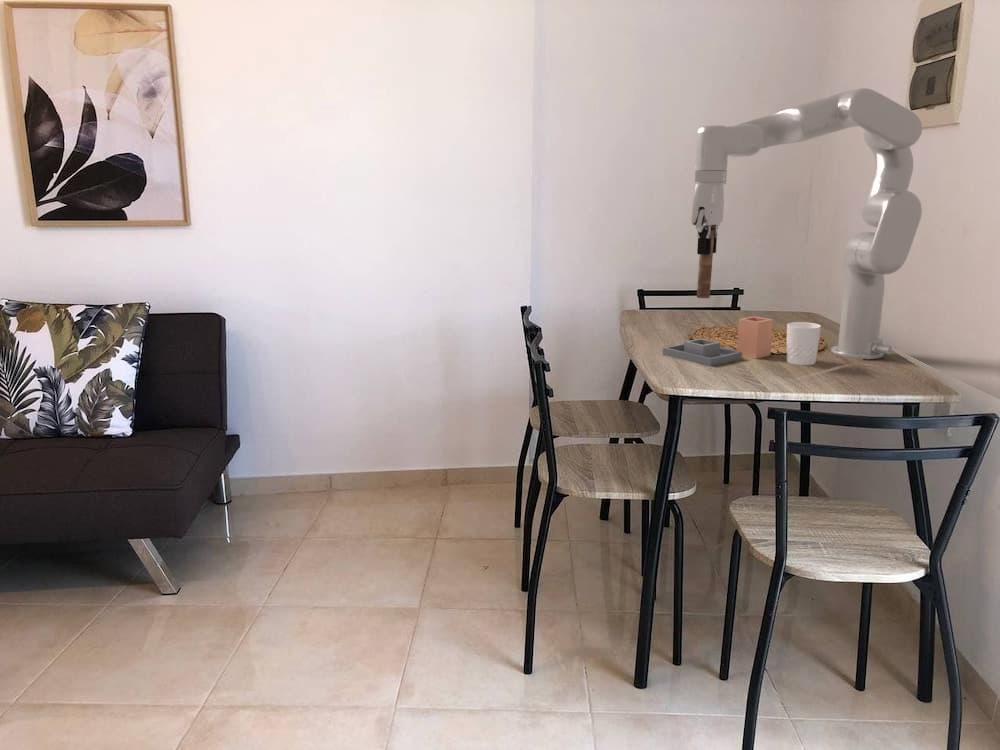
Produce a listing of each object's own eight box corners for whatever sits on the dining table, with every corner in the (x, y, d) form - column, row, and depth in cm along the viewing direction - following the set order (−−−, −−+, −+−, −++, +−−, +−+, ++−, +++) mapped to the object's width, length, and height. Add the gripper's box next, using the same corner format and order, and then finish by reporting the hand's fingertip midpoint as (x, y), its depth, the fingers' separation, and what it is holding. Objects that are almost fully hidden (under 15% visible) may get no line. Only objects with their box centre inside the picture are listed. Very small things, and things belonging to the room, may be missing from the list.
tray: (741, 361, 201) (742, 344, 200) (710, 368, 194) (711, 350, 193) (693, 350, 214) (694, 334, 212) (662, 356, 207) (663, 340, 206)
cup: (770, 357, 204) (773, 319, 202) (755, 360, 201) (758, 322, 198) (751, 353, 209) (753, 316, 206) (736, 356, 206) (738, 319, 203)
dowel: (712, 297, 199) (717, 229, 195) (703, 298, 198) (708, 230, 193) (702, 295, 202) (707, 228, 197) (694, 296, 200) (698, 229, 196)
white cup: (801, 369, 192) (805, 329, 189) (777, 362, 199) (780, 324, 196) (824, 365, 195) (828, 326, 193) (799, 359, 202) (802, 320, 200)
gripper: (707, 177, 201) (704, 249, 205) (683, 179, 188) (679, 256, 192) (736, 177, 197) (732, 251, 201) (713, 179, 184) (709, 257, 188)
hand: (706, 252), depth 197 cm, fingers closed on dowel, 3 cm apart
